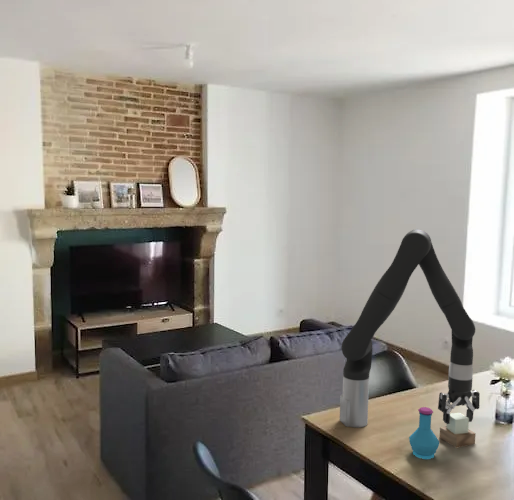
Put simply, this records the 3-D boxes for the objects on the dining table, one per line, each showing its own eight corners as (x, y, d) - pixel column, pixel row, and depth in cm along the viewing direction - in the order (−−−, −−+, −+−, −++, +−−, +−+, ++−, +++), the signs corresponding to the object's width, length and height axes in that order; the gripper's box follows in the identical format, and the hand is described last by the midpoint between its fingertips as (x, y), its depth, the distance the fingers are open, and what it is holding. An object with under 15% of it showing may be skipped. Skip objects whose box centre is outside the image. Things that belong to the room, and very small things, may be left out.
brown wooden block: (456, 448, 183) (456, 437, 183) (439, 438, 191) (440, 427, 190) (474, 444, 187) (475, 433, 186) (457, 434, 194) (458, 423, 193)
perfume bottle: (434, 464, 172) (436, 417, 171) (404, 456, 177) (406, 410, 175) (441, 452, 180) (444, 407, 178) (413, 445, 185) (415, 401, 183)
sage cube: (454, 434, 185) (455, 419, 185) (446, 427, 190) (447, 413, 189) (468, 432, 186) (468, 418, 186) (459, 426, 191) (459, 412, 191)
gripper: (448, 380, 181) (445, 428, 183) (486, 377, 184) (483, 424, 186) (435, 373, 188) (432, 419, 190) (472, 370, 191) (469, 415, 193)
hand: (457, 422), depth 188 cm, fingers open, 8 cm apart
